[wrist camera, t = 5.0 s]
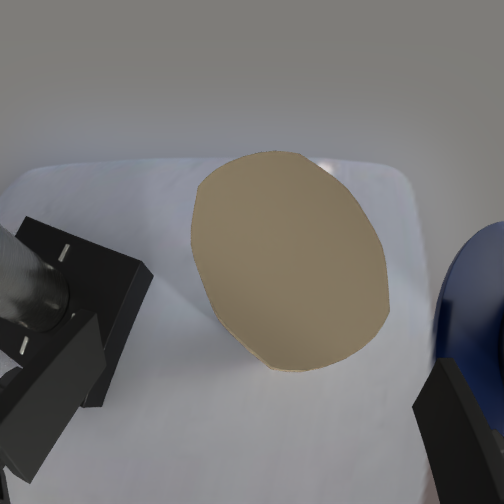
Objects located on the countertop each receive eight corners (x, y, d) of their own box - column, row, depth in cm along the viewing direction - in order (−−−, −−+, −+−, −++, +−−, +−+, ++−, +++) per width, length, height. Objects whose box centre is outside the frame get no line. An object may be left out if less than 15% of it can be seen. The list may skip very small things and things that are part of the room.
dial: (79, 280, 21) (-11, 206, 11) (53, 343, 19) (-55, 300, 9) (36, 259, 21) (-47, 188, 12) (11, 315, 19) (-84, 265, 10)
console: (154, 275, 24) (141, 260, 21) (102, 407, 20) (81, 408, 17) (42, 231, 26) (24, 214, 23) (-4, 335, 22) (-26, 327, 19)
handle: (280, 283, 24) (313, 136, 10) (317, 364, 21) (421, 316, 8) (218, 308, 23) (167, 182, 9) (252, 391, 21) (249, 400, 7)
